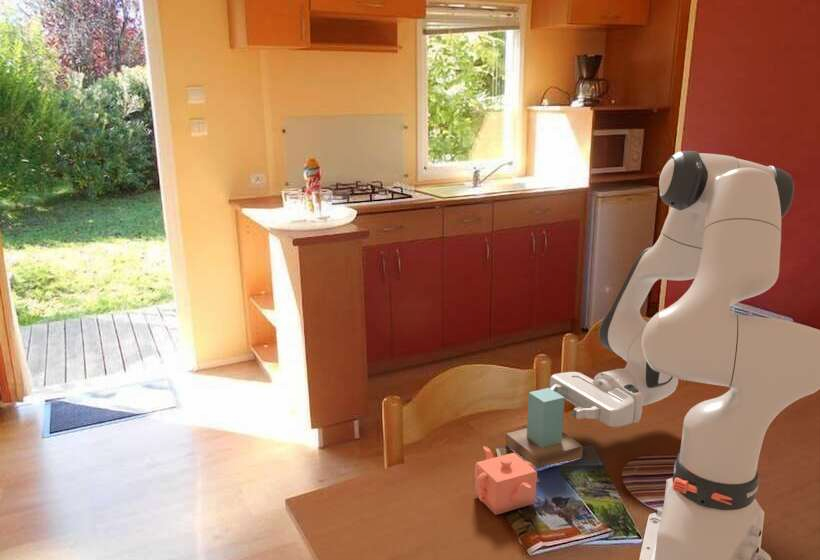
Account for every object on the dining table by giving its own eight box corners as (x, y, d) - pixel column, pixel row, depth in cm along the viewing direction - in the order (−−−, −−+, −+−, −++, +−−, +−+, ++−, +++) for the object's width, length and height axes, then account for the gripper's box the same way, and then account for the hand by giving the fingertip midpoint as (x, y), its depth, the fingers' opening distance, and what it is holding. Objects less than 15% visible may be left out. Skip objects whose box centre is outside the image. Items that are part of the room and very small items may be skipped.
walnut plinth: (581, 459, 131) (582, 445, 130) (537, 472, 126) (538, 458, 125) (548, 435, 140) (548, 422, 139) (505, 446, 136) (506, 433, 135)
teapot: (498, 534, 108) (500, 490, 106) (455, 487, 121) (456, 448, 119) (556, 516, 113) (559, 473, 110) (509, 473, 126) (510, 434, 124)
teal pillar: (561, 442, 131) (564, 397, 129) (541, 447, 129) (544, 402, 126) (546, 431, 136) (548, 387, 133) (526, 436, 133) (528, 392, 131)
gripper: (580, 361, 146) (530, 372, 140) (648, 396, 128) (594, 410, 123) (578, 386, 148) (529, 398, 142) (645, 425, 130) (592, 440, 124)
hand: (559, 404), depth 132 cm, fingers open, 8 cm apart
